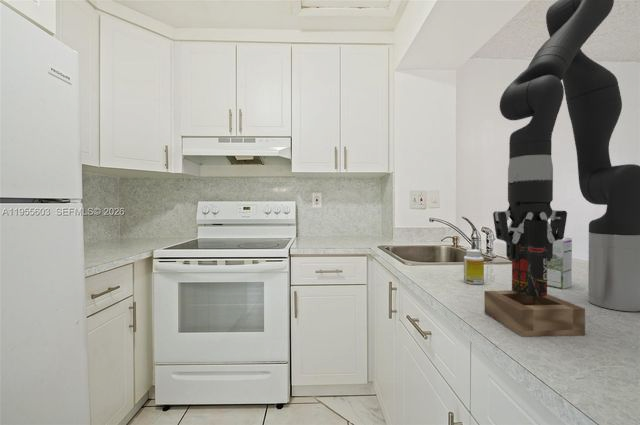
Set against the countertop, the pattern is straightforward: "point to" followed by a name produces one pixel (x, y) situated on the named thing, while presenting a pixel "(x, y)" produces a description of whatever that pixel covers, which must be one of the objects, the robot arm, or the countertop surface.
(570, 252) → the syrup box
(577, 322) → the socket block
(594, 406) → the countertop surface
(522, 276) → the deodorant
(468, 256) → the supplement bottle
